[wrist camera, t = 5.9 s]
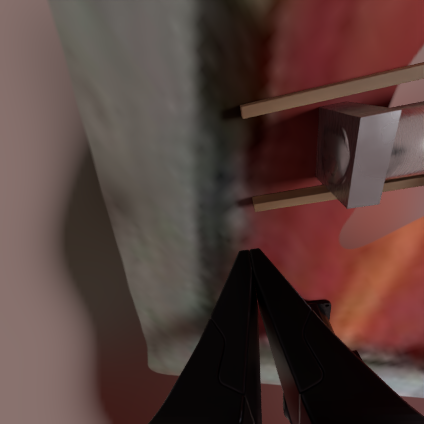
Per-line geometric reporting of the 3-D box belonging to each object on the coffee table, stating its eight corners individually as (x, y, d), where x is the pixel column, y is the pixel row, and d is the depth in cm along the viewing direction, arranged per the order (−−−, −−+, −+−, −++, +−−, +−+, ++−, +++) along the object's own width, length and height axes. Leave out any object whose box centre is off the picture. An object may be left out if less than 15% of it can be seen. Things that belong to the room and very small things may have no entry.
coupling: (467, 76, 15) (589, 73, 10) (439, 156, 18) (521, 184, 13) (319, 107, 16) (360, 117, 11) (315, 176, 19) (347, 208, 14)
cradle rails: (422, 176, 19) (437, 183, 17) (253, 203, 21) (254, 211, 20) (461, 53, 14) (485, 50, 13) (240, 105, 16) (241, 107, 15)
